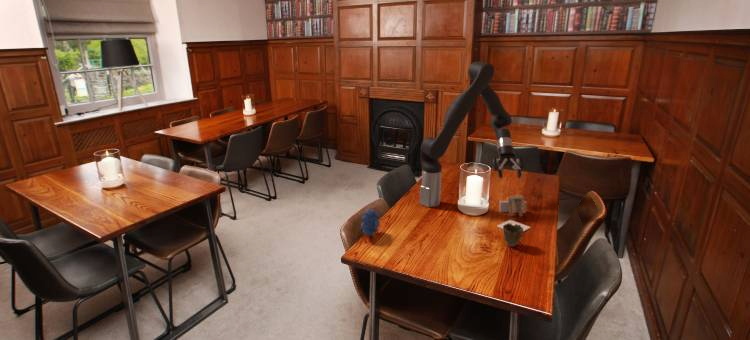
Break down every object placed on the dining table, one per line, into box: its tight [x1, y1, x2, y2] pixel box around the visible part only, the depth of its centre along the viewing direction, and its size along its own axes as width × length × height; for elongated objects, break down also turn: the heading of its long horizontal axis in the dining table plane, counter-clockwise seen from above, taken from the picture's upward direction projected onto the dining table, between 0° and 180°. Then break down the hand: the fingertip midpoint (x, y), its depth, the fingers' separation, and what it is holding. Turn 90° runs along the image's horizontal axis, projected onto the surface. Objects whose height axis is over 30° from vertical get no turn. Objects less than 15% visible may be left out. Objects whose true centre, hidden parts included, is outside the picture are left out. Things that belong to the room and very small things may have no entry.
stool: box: [507, 195, 527, 218], centre depth 183 cm, size 10×6×10 cm, turn 179°
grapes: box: [360, 208, 381, 237], centre depth 164 cm, size 12×7×12 cm, turn 145°
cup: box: [502, 223, 524, 248], centre depth 156 cm, size 8×7×8 cm
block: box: [498, 200, 527, 213], centre depth 188 cm, size 2×12×5 cm, turn 89°
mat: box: [496, 219, 531, 233], centre depth 173 cm, size 10×10×1 cm
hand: (510, 177), depth 192 cm, fingers open, 8 cm apart
